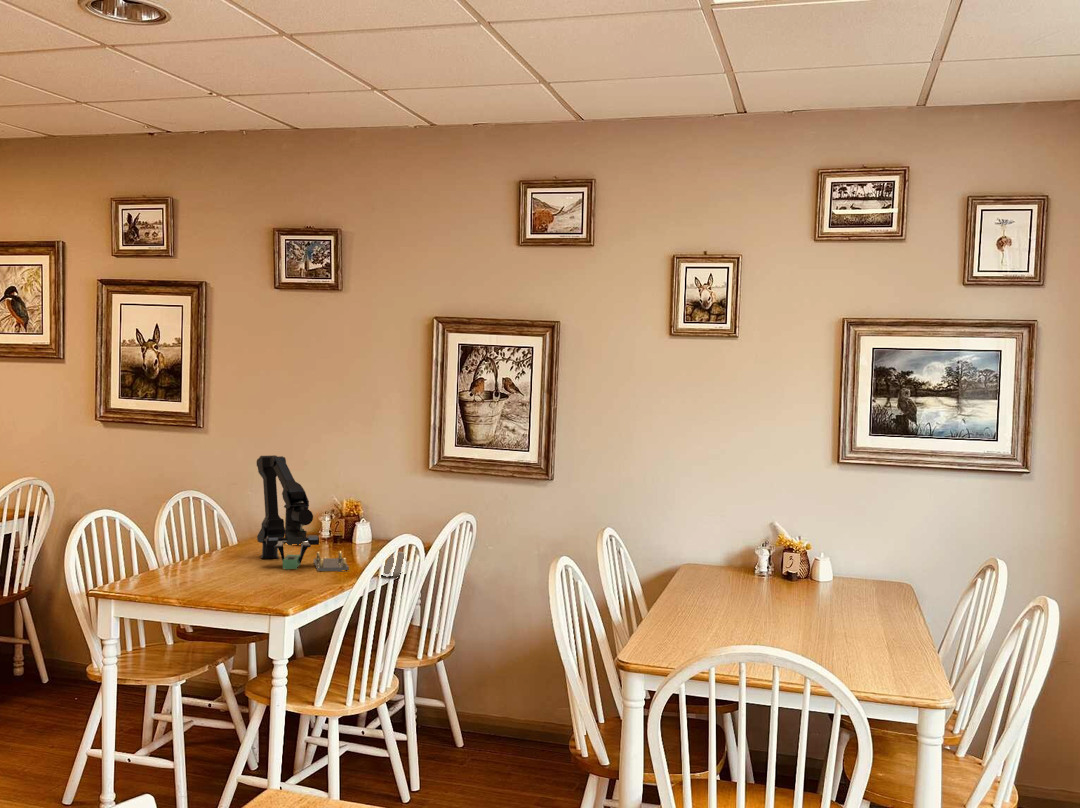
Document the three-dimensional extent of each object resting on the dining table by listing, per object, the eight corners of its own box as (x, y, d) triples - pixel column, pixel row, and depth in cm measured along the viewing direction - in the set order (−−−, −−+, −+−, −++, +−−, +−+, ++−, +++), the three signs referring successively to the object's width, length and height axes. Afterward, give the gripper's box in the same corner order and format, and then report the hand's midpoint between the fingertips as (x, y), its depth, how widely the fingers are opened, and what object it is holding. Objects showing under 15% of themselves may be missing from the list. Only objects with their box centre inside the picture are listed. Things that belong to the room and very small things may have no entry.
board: (287, 563, 361) (287, 553, 361) (300, 564, 362) (301, 553, 362) (282, 569, 351) (282, 558, 351) (296, 569, 352) (296, 559, 352)
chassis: (313, 562, 365) (314, 550, 365) (343, 562, 369) (343, 550, 369) (318, 571, 349) (318, 559, 349) (348, 571, 353) (349, 558, 352)
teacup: (408, 578, 345) (408, 555, 345) (378, 579, 341) (378, 556, 341) (399, 570, 358) (399, 548, 358) (370, 571, 354) (370, 549, 354)
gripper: (268, 525, 345) (266, 568, 346) (321, 524, 351) (319, 567, 352) (266, 520, 356) (265, 562, 356) (318, 519, 362) (316, 561, 362)
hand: (291, 563), depth 356 cm, fingers closed on board, 5 cm apart
